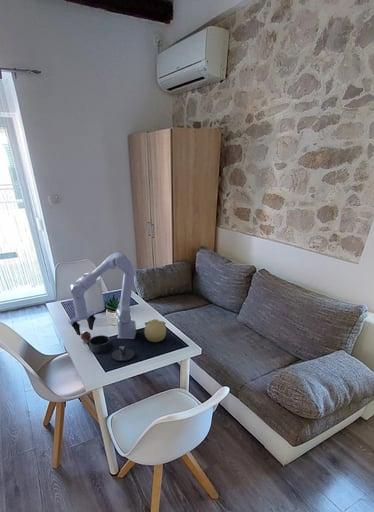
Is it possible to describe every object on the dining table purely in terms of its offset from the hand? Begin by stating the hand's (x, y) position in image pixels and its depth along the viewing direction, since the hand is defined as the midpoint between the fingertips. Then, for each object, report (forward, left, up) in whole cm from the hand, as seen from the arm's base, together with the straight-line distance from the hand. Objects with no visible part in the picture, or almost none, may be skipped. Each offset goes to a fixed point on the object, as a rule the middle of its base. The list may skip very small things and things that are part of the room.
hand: (85, 332), depth 161 cm
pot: (-9, +6, -6) cm, 12 cm away
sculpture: (-36, -5, -6) cm, 37 cm away
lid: (-22, +13, -5) cm, 26 cm away
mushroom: (0, 0, -6) cm, 6 cm away
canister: (+8, -42, -6) cm, 43 cm away
